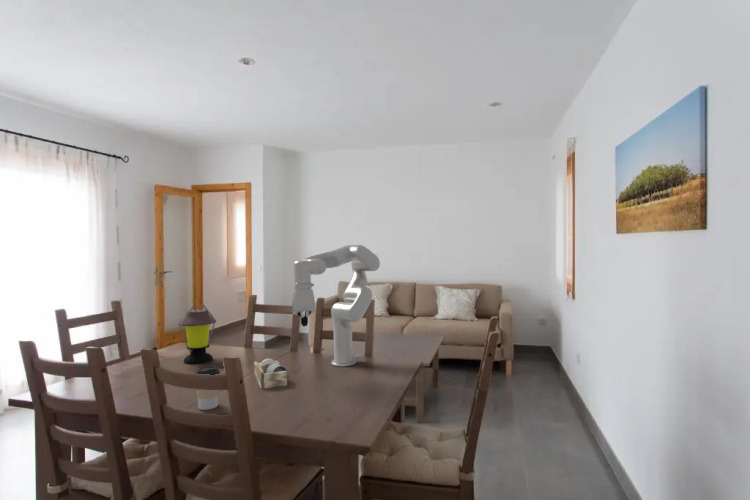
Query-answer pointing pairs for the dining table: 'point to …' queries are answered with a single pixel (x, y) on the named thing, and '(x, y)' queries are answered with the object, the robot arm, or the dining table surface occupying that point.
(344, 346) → the robot arm
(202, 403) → the coffee cup
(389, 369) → the dining table surface
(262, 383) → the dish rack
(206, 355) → the lantern
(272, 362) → the white plate
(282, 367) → the ceramic mug
